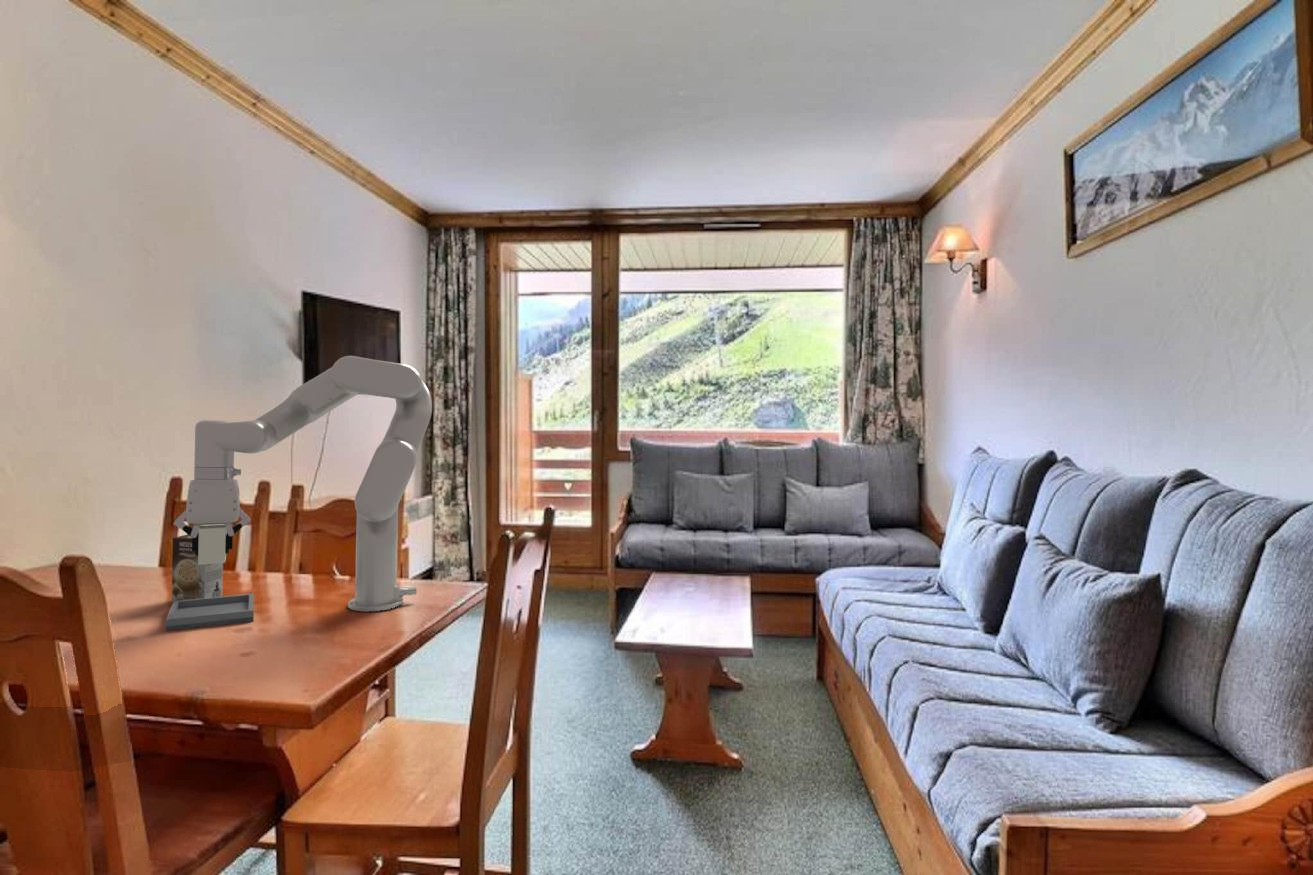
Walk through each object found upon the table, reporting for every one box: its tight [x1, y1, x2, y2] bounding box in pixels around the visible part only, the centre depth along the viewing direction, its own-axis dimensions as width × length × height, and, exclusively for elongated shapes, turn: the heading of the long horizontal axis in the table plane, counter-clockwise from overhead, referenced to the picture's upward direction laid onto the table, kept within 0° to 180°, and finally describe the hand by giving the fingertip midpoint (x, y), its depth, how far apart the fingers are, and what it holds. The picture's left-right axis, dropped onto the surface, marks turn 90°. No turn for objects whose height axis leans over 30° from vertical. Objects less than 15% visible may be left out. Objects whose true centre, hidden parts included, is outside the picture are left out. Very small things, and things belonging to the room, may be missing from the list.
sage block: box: [198, 524, 227, 565], centre depth 151 cm, size 5×6×8 cm
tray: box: [165, 592, 255, 632], centre depth 152 cm, size 16×16×2 cm
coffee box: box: [171, 534, 224, 603], centre depth 164 cm, size 9×6×16 cm
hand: (212, 552), depth 151 cm, fingers closed on sage block, 5 cm apart
